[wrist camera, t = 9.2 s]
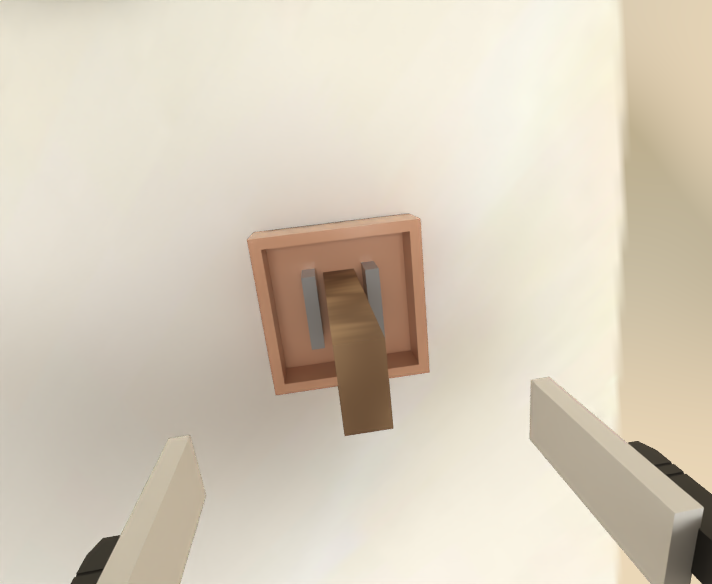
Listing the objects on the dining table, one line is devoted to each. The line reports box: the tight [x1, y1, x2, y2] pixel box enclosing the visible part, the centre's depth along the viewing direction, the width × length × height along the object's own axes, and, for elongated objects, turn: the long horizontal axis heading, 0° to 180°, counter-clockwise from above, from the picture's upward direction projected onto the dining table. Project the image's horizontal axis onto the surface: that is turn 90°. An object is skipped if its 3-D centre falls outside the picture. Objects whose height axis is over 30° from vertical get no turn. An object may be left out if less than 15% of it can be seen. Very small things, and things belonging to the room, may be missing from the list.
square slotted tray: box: [247, 214, 429, 395], centre depth 32 cm, size 12×12×4 cm
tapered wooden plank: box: [323, 268, 393, 436], centre depth 26 cm, size 2×5×14 cm, turn 6°
